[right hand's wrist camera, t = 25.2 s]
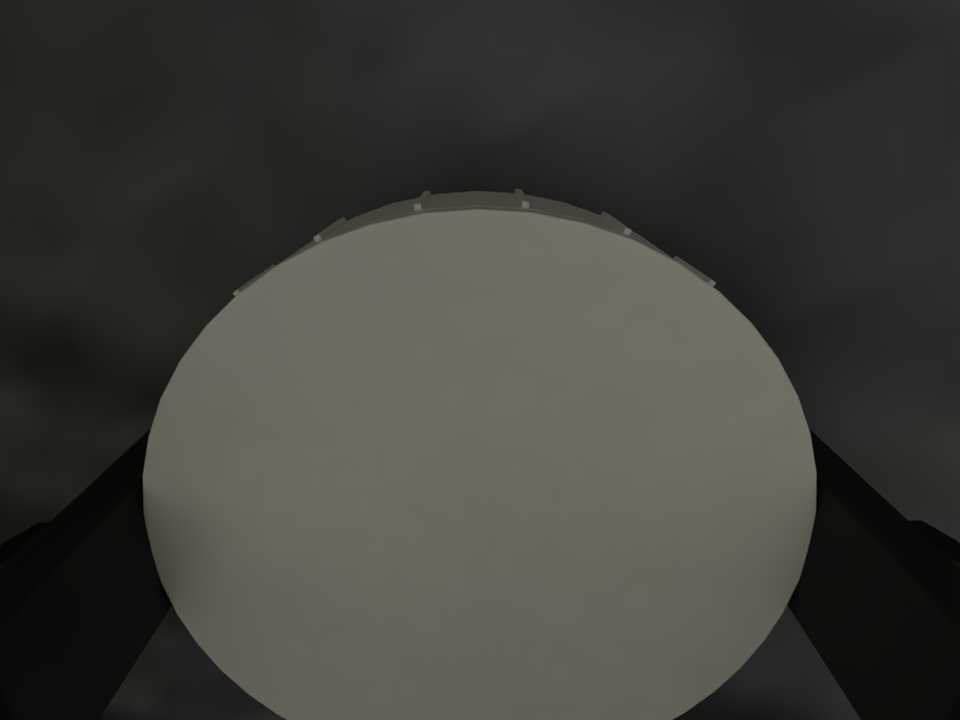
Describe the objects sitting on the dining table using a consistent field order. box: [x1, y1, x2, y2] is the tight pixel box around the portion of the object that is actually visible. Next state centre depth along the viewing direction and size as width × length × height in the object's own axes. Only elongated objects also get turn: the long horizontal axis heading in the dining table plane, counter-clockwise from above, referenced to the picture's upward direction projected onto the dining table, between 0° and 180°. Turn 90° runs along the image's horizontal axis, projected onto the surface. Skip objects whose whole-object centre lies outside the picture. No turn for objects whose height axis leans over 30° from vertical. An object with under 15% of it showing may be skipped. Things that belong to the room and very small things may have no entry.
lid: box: [143, 189, 817, 720], centre depth 11 cm, size 12×12×2 cm
